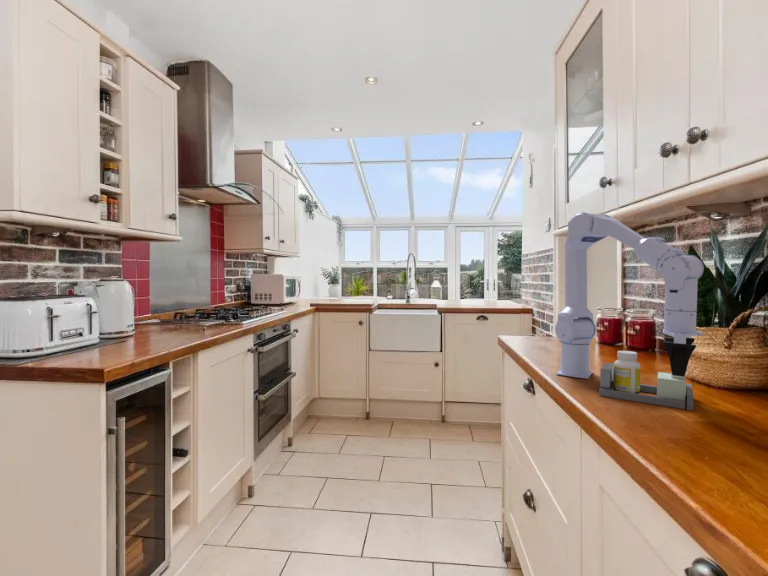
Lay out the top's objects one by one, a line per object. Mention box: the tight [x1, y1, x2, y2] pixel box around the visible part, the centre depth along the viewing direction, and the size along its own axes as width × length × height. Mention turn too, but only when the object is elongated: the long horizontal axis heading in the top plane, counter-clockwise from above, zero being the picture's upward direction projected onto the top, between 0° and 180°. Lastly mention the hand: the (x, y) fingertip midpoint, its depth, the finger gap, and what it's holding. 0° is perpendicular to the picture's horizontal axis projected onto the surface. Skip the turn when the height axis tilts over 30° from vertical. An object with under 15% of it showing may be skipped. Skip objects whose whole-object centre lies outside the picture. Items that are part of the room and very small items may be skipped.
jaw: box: [656, 371, 687, 402], centre depth 92 cm, size 7×5×10 cm
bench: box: [598, 362, 694, 411], centre depth 95 cm, size 11×17×6 cm, turn 55°
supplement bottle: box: [613, 350, 641, 394], centre depth 97 cm, size 5×5×10 cm
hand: (678, 372), depth 92 cm, fingers open, 7 cm apart
